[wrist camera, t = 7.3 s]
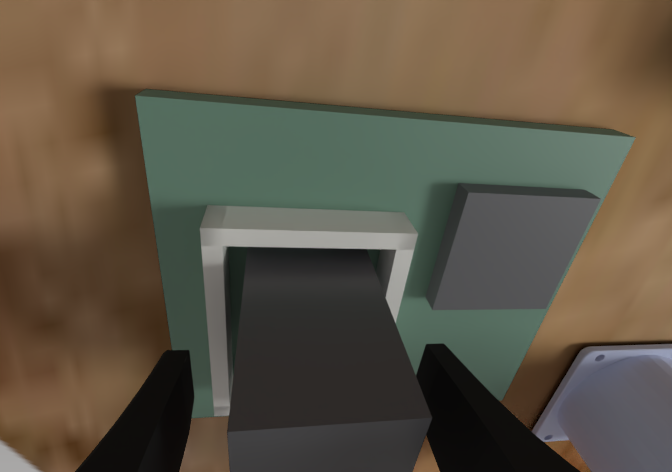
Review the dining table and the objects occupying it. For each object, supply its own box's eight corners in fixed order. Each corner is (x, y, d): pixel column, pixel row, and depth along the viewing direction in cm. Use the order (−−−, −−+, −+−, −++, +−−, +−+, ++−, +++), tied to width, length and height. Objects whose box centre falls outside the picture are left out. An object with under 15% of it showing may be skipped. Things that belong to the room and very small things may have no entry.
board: (613, 129, 14) (674, 151, 12) (492, 384, 21) (517, 426, 19) (145, 88, 11) (115, 107, 9) (186, 399, 18) (174, 451, 16)
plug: (363, 239, 14) (432, 417, 8) (342, 365, 17) (380, 558, 11) (248, 237, 13) (227, 431, 7) (250, 368, 16) (236, 578, 10)
